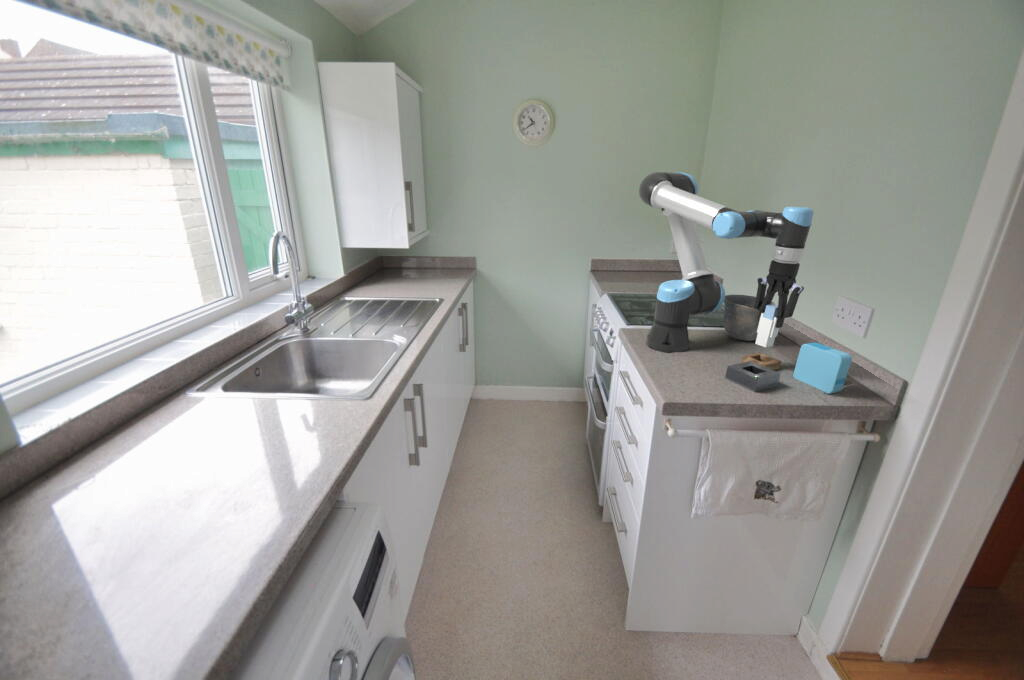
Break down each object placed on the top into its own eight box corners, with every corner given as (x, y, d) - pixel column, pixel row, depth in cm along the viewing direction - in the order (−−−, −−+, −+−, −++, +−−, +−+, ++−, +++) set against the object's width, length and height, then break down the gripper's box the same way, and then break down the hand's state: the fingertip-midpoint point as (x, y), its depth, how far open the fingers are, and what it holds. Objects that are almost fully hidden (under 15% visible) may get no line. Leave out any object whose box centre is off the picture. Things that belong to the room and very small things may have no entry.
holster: (740, 364, 143) (742, 356, 142) (757, 360, 146) (758, 352, 145) (763, 373, 136) (765, 365, 135) (779, 369, 139) (781, 361, 138)
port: (724, 379, 132) (727, 364, 130) (746, 374, 136) (750, 359, 134) (754, 393, 123) (758, 378, 121) (777, 387, 127) (781, 372, 126)
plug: (755, 343, 139) (764, 305, 135) (762, 342, 141) (772, 303, 136) (765, 347, 136) (775, 308, 132) (772, 345, 138) (783, 307, 133)
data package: (841, 393, 124) (853, 355, 120) (830, 396, 123) (843, 357, 119) (801, 376, 135) (811, 340, 131) (791, 378, 133) (801, 342, 129)
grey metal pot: (707, 336, 168) (714, 299, 163) (727, 327, 179) (734, 292, 174) (755, 349, 156) (765, 309, 150) (773, 339, 167) (783, 301, 161)
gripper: (752, 256, 134) (735, 327, 143) (805, 267, 120) (784, 345, 129) (768, 255, 137) (751, 324, 146) (822, 265, 123) (799, 341, 132)
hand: (766, 334), depth 137 cm, fingers closed on plug, 4 cm apart
